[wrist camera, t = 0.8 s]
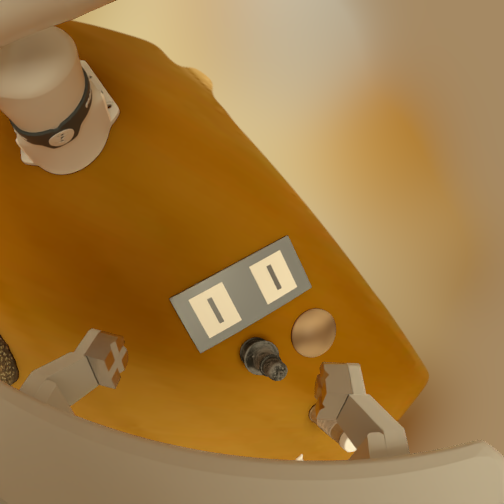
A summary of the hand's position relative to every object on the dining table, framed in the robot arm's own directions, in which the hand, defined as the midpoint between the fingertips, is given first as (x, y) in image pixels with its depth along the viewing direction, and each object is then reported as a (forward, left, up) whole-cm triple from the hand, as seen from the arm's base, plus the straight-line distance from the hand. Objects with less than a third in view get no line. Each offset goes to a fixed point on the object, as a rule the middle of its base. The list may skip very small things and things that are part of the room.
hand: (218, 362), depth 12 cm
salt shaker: (+17, +7, -37) cm, 41 cm away
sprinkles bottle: (+36, +12, -37) cm, 53 cm away
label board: (+7, +10, -37) cm, 39 cm away
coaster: (+20, +18, -37) cm, 45 cm away
